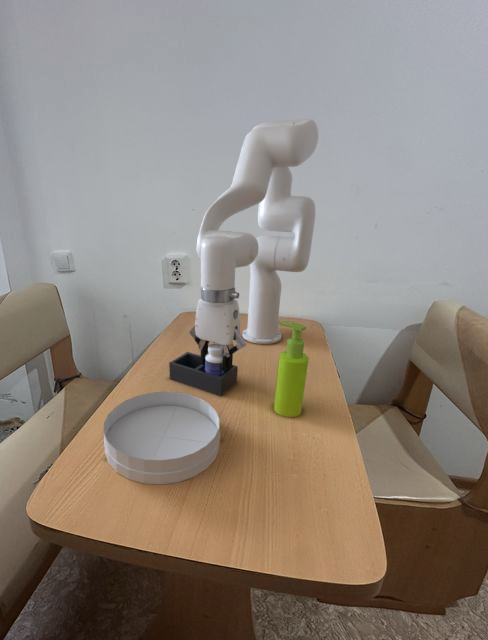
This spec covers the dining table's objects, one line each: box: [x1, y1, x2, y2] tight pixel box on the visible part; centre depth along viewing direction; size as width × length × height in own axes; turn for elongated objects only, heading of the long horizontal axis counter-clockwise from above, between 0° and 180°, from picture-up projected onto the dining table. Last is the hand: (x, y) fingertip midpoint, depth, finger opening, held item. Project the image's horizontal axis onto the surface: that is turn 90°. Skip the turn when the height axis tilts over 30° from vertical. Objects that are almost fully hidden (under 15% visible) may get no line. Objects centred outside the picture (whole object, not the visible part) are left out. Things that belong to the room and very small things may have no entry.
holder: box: [168, 351, 239, 397], centre depth 94 cm, size 8×15×5 cm, turn 56°
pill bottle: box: [205, 343, 227, 377], centre depth 91 cm, size 5×5×9 cm
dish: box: [103, 391, 221, 486], centre depth 71 cm, size 22×22×5 cm
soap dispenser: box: [273, 320, 310, 418], centre depth 79 cm, size 6×7×20 cm
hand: (216, 365), depth 91 cm, fingers closed on pill bottle, 5 cm apart
